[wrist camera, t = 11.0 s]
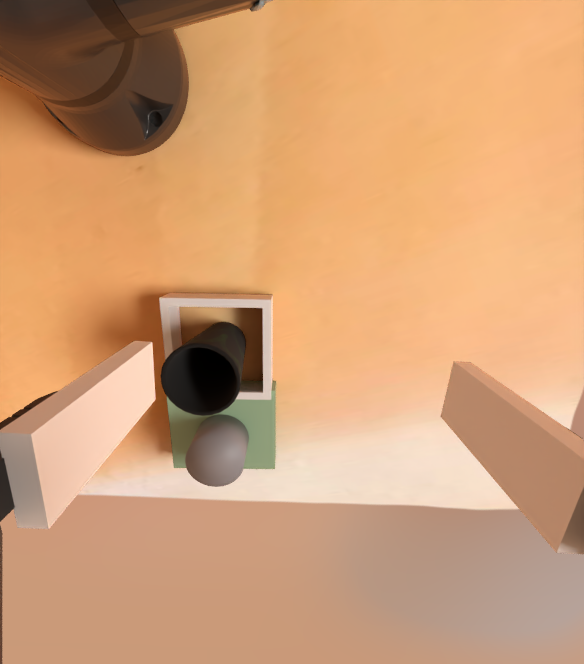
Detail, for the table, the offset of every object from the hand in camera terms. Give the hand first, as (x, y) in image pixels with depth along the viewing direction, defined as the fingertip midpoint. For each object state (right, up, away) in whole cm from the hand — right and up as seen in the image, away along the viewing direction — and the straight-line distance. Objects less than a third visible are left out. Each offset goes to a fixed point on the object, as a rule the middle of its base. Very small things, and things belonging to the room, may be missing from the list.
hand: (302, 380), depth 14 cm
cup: (-9, +1, +28) cm, 30 cm away
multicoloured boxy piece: (-10, -5, +30) cm, 32 cm away
